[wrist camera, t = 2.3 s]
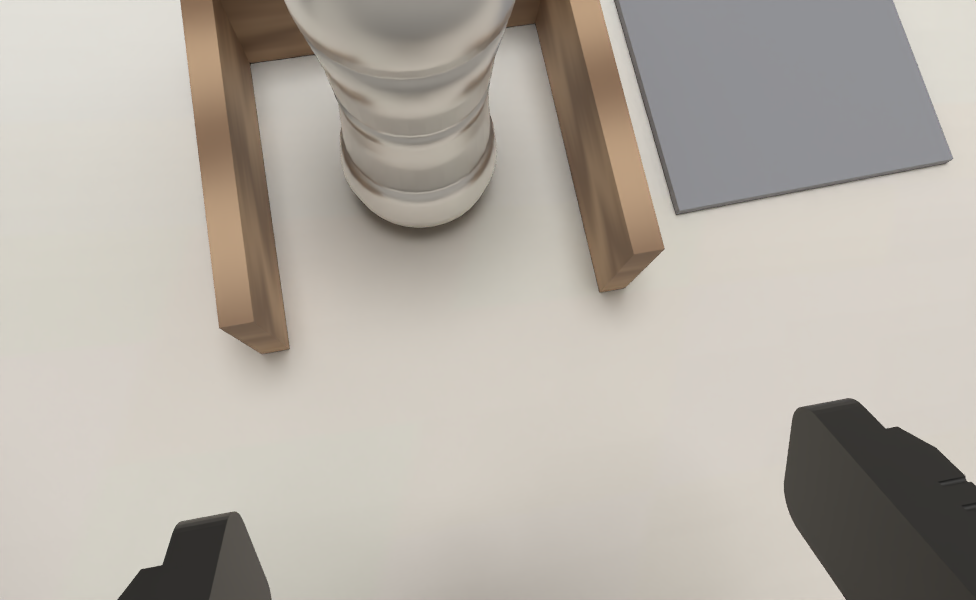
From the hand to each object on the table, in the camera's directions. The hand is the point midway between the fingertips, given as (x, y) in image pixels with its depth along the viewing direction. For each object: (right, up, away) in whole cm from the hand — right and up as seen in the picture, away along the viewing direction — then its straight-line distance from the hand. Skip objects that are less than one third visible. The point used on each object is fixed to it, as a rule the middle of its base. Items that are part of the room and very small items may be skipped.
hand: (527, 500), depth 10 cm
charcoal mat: (+14, +15, +25) cm, 32 cm away
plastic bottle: (-4, +9, +23) cm, 25 cm away
